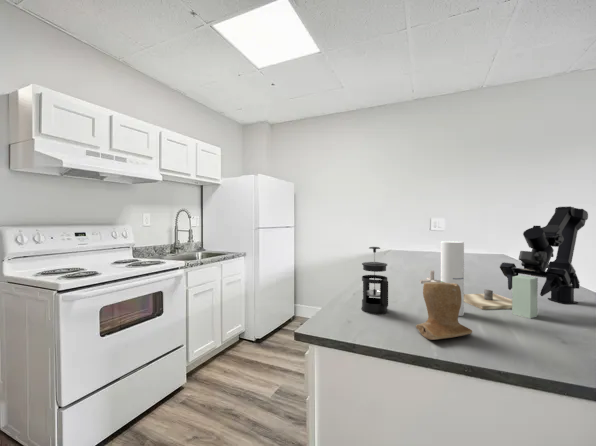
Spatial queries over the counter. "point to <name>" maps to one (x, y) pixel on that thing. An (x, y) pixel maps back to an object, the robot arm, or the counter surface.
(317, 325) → the counter surface
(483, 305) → the post base
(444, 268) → the cylindrical container
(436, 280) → the beige crossed rods
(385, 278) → the french press
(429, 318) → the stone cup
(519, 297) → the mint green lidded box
